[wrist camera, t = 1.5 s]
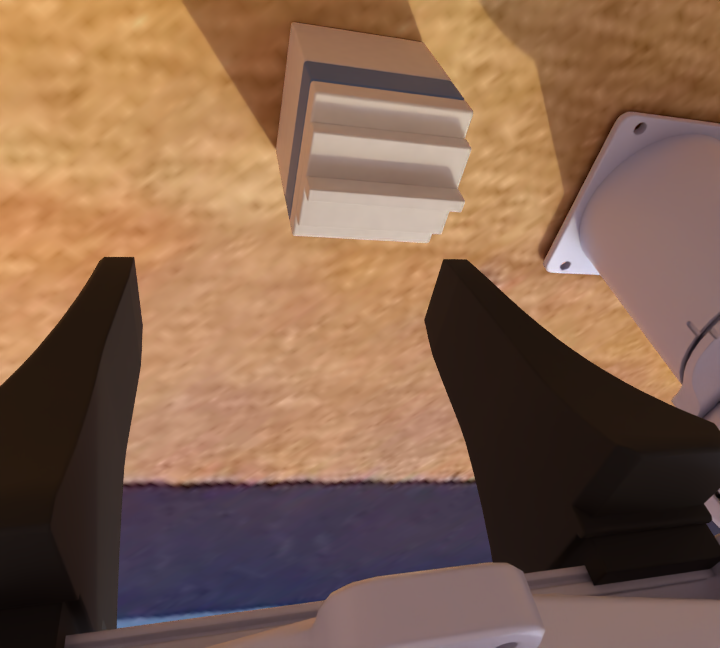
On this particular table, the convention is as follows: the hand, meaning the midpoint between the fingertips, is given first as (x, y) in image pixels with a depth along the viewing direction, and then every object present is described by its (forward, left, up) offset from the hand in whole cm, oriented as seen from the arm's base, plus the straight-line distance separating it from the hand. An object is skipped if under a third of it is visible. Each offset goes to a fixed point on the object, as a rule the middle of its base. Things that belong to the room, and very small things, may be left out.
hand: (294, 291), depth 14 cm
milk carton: (-3, -1, -10) cm, 10 cm away
